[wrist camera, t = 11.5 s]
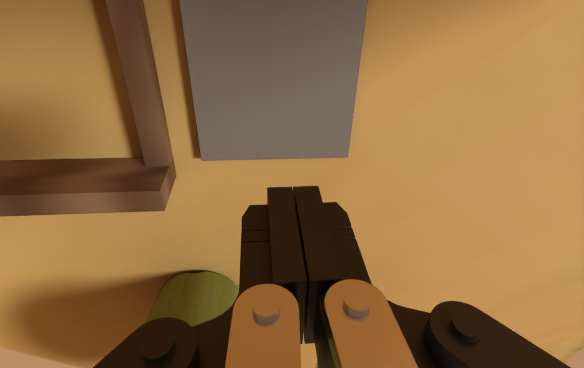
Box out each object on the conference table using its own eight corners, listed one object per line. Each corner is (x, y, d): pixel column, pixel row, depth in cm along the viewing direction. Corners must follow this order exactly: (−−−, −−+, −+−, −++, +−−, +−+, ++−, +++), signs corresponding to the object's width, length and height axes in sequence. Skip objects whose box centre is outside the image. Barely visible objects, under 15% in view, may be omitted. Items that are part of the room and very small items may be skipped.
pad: (367, -27, 19) (371, -26, 19) (346, 153, 25) (347, 157, 25) (177, -30, 18) (175, -29, 18) (202, 156, 25) (201, 160, 24)
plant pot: (246, 341, 37) (243, 474, 28) (126, 323, 34) (77, 467, 25) (286, 264, 31) (300, 401, 22) (146, 234, 28) (92, 379, 19)
